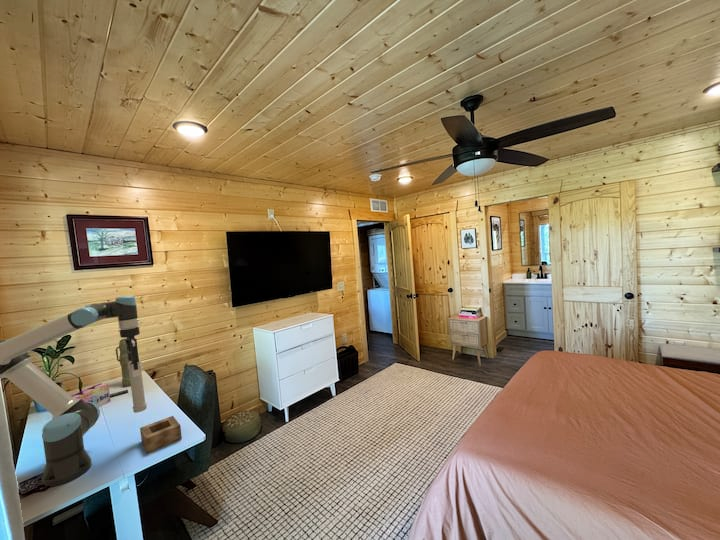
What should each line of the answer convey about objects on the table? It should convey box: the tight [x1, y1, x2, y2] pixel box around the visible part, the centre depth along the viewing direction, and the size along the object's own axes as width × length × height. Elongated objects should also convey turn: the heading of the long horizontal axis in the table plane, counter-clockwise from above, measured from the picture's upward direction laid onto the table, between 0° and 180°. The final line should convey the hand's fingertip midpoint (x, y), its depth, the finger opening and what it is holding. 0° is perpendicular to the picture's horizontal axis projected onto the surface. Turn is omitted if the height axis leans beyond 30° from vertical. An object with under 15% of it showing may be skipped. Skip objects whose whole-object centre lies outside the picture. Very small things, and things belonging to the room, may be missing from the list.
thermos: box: [114, 337, 131, 388], centre depth 221 cm, size 9×12×35 cm
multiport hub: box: [110, 389, 129, 399], centre depth 206 cm, size 4×11×2 cm, turn 130°
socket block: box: [139, 415, 183, 454], centre depth 148 cm, size 14×14×7 cm
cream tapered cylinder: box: [128, 351, 148, 414], centre depth 148 cm, size 6×6×30 cm
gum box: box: [70, 382, 112, 408], centre depth 187 cm, size 22×7×13 cm, turn 171°
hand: (135, 374), depth 147 cm, fingers closed on cream tapered cylinder, 5 cm apart
